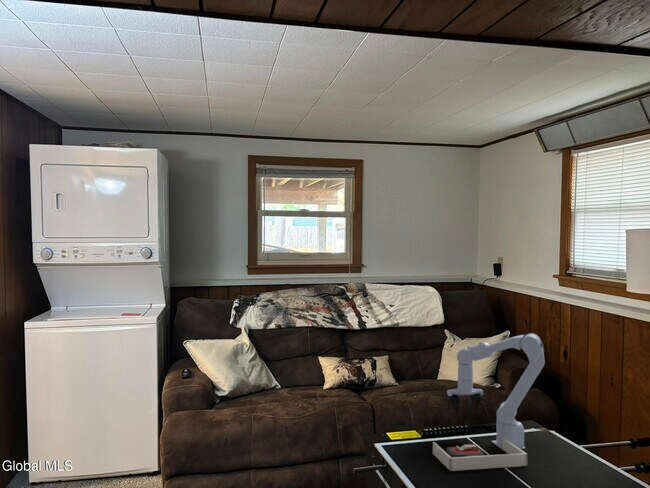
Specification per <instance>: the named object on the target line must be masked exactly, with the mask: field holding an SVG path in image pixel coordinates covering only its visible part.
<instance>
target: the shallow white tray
mask: <svg viewBox="0 0 650 488" xmlns="http://www.w3.org/2000/svg"><path fill="white" fill-rule="evenodd" d="M503 448H504V450H503V451H504V452H505V454H503V453H502V454H491V455H490V454H489V455H488V454H487V455H485V454H484V455H483V456H469V457H452V458H451V457H450V456H449V455H448V454H447V451H445V450H444V448H442V447H441V446H439V444H438V443H437V442H436V441H434V442H432V455H433V456H435V458H436V459H438V460H439V461H440V463H441V464H443V466H444V467H446V468H447V470H449V471H450V472H456V471H457V472H458V471H468V470H482V469H483V470H485V469H487V470H488V469H497V468H499V469H500V468H502V469H503V468H513V467H514V468H515V467H516V468H517V467H528V453H527V452H525V451H524V450H523V449H519V448H518V447H516V446H515V445H513V444H512V443H511V442H509V441H508V440H506V439H503Z"/></svg>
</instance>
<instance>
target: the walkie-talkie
mask: <svg viewBox="0 0 650 488" xmlns="http://www.w3.org/2000/svg"><path fill="white" fill-rule="evenodd" d="M446 453H447V454H448V455H449V456H450V457H451V458H452V457H469V456H485V454H484V452H483V451H482V450H481V449H480V448H479V447H477V446H476V445H475V444H474V443H473V444H463V445H462V446H458V445H456V446H453V447H451V446H450V447H446Z"/></svg>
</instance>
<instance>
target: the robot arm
mask: <svg viewBox="0 0 650 488" xmlns="http://www.w3.org/2000/svg"><path fill="white" fill-rule="evenodd" d="M507 349H516V350H519V351H520V350H521V349H522V351H523V352H524V354H526V356H527V360H528V362H529V363H528V365H527V367H526V368H525V370H524V372H523V373H522V375H521V376H520V378H519V380H518V381H517V383H516V384H515V386H514V388H513V390H512V391H511V393H510V394H509V396H508V397H507V399H506V400H505V401H503V402H501V403H500V405H499V408H498V409H497V410H496V415H495V416H496V438H495V439H496V440H491V443H492V444H494V445H496V447H498V448H499V449H501V450H502V451H504V448H503V439H506V440H508V441H509V442H511V443H512V444H513V445H515V446H516V447H518V448H519V449H521V450H523V449H526V447H525V429H524V426H523V424H522V423H521V422H520V421H517V419H516V418H515V417H516V415H517V413H518V408H519V406H520V405H521V404H522V401H523V400H524V398H525V397H526V395H527V393H528V392H529V390H530V389H531V387H532V385H533V384H534V382H535V380H536V379H537V377H538V376H539V374H540V373H541V371H542V369H543V368H544V367H545V363H546V361H545V350H544V344H543V342H542V339H541V338H540V336H539V335H538V334H536V333H531V332H530V333H527V334H520V335H516V336H512V337H509V338H505V339H503V340H500V341H497V342H494V343H487V342H485V341H484V342H483V341H479V342H478V344H476V345H471V346H470V345H468V346H467V347H464V348H462V349H461V350H459V351H458V352H457V355H456V359H457V362H458V364H457V365H458V366H457V388H452V389H447V392H446V394H447V396H448V398H449V400H450V402H451V405H452V409H453V413H454V414H455V415H459V405H460V397H458V396H470V400H471V407H470V408H471V413H472V414H474V415H476V414H477V410H478V407H479V405H480V403H481V401H482V399H483V395H484V390H483V389H481V388H473V387H474V384H473V382H474V367H473V366H474V365H473V361H474V362H477V361H480V360H484V359H488V358H491V357H492V356H493V353H496V352H500V351H505V350H507Z"/></svg>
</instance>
